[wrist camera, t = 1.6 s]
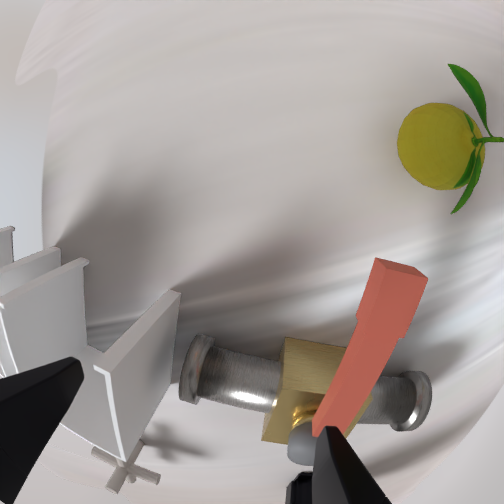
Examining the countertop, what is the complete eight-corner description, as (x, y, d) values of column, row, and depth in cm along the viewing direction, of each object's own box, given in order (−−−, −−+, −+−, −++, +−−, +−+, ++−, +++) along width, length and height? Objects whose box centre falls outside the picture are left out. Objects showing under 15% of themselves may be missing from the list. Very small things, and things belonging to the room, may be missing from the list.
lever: (329, 450, 16) (330, 468, 14) (282, 446, 16) (281, 464, 14) (424, 269, 11) (439, 281, 10) (361, 253, 12) (371, 264, 10)
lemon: (405, 92, 15) (477, 44, 6) (457, 144, 16) (544, 136, 6) (361, 155, 17) (426, 137, 8) (417, 207, 18) (504, 235, 8)
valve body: (419, 356, 21) (448, 407, 14) (390, 404, 22) (407, 455, 16) (204, 317, 22) (172, 370, 15) (198, 373, 24) (172, 427, 17)
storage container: (17, 302, 27) (-36, 335, 16) (11, 225, 24) (-56, 247, 13) (171, 383, 25) (126, 462, 15) (182, 292, 22) (110, 372, 12)
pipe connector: (103, 409, 29) (68, 457, 19) (168, 437, 28) (141, 494, 18) (114, 444, 32) (89, 486, 22) (171, 467, 31) (151, 514, 21)
